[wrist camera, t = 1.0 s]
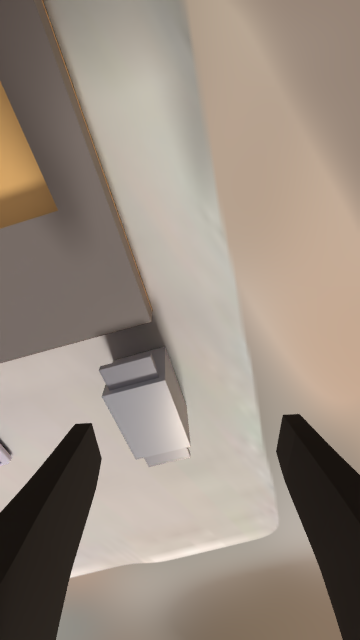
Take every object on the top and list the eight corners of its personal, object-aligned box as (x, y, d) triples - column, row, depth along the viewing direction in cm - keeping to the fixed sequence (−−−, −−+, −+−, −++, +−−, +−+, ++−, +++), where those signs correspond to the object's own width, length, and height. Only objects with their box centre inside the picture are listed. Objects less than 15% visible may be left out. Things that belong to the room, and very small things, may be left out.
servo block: (146, 429, 22) (143, 473, 19) (105, 341, 18) (90, 376, 15) (191, 418, 22) (196, 461, 18) (158, 326, 18) (156, 358, 15)
